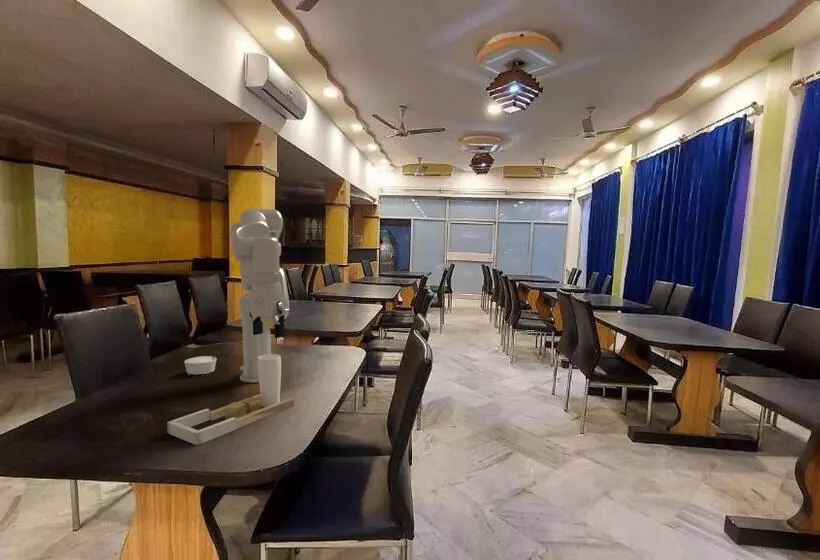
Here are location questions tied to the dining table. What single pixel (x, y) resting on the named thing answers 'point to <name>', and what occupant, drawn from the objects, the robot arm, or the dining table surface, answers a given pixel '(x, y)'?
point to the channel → (254, 415)
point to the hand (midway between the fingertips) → (268, 335)
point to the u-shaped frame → (197, 437)
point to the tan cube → (235, 410)
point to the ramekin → (200, 365)
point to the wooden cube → (252, 404)
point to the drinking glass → (269, 378)
